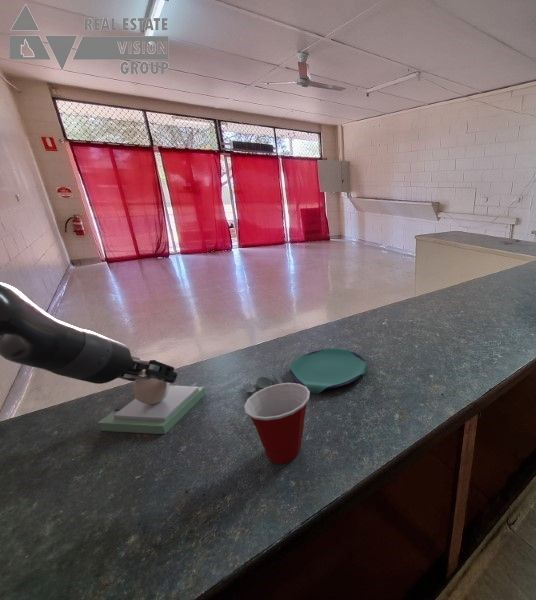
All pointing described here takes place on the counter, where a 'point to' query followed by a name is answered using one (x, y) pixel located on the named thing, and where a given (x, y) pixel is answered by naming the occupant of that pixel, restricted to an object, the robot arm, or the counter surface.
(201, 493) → the counter surface
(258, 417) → the plastic cup
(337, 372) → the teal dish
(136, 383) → the garlic bulb
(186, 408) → the scale
